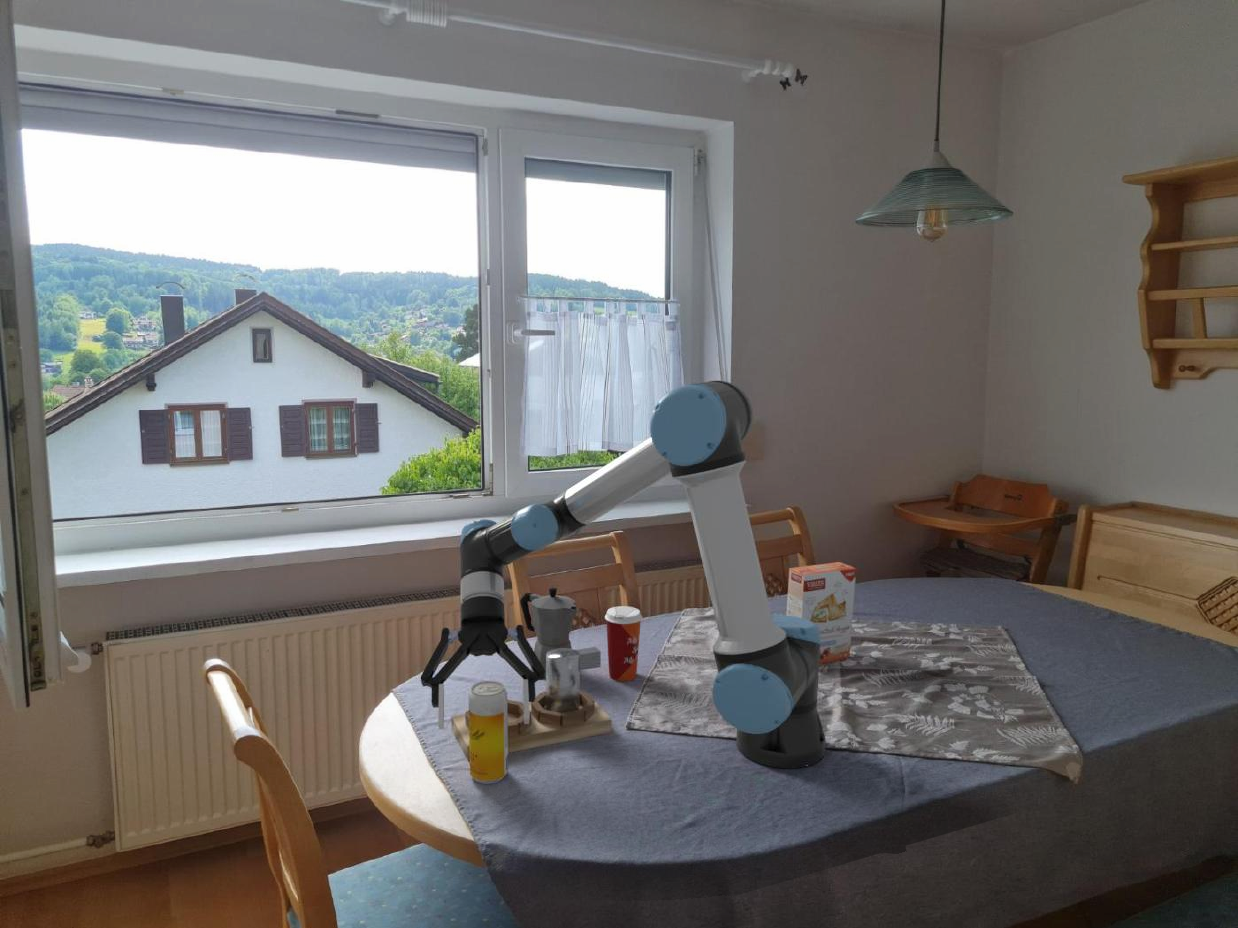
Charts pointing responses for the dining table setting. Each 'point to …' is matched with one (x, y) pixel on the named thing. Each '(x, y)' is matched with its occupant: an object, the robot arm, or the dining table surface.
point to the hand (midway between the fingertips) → (484, 723)
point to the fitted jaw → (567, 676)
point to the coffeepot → (549, 621)
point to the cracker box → (825, 604)
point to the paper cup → (623, 642)
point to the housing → (542, 724)
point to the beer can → (488, 732)
